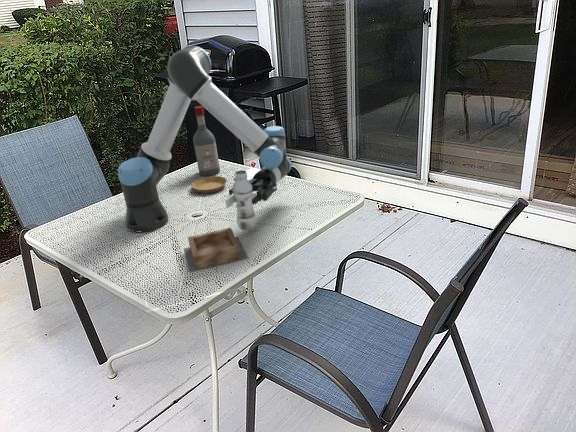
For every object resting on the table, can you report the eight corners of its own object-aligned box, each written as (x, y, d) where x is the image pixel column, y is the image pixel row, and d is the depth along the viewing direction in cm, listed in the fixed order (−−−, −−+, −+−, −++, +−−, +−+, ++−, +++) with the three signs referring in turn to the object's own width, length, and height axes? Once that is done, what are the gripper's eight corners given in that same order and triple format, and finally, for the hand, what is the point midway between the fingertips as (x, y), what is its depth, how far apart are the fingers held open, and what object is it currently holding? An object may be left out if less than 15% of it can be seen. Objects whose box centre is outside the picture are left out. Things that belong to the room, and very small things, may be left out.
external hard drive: (265, 173, 219) (248, 183, 210) (251, 171, 224) (233, 180, 215) (265, 170, 219) (247, 179, 210) (250, 167, 223) (233, 177, 214)
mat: (190, 273, 146) (189, 272, 146) (183, 249, 160) (183, 248, 160) (249, 259, 151) (248, 258, 151) (237, 237, 165) (237, 236, 165)
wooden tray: (196, 269, 148) (193, 257, 146) (190, 248, 160) (187, 237, 158) (241, 258, 151) (239, 246, 149) (232, 239, 163) (230, 227, 161)
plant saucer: (225, 193, 201) (224, 187, 200) (189, 196, 202) (188, 190, 201) (229, 180, 214) (228, 174, 213) (196, 183, 215) (194, 177, 214)
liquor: (221, 173, 222) (210, 107, 210) (201, 177, 220) (189, 110, 208) (217, 167, 230) (207, 103, 218) (198, 171, 228) (186, 106, 216)
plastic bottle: (250, 234, 162) (243, 177, 153) (233, 230, 165) (226, 174, 156) (261, 226, 166) (255, 170, 158) (245, 222, 170) (238, 167, 161)
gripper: (292, 190, 174) (265, 218, 155) (243, 186, 181) (211, 212, 162) (290, 170, 171) (262, 196, 152) (241, 166, 178) (208, 191, 159)
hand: (236, 204), depth 157 cm, fingers closed on plastic bottle, 6 cm apart
